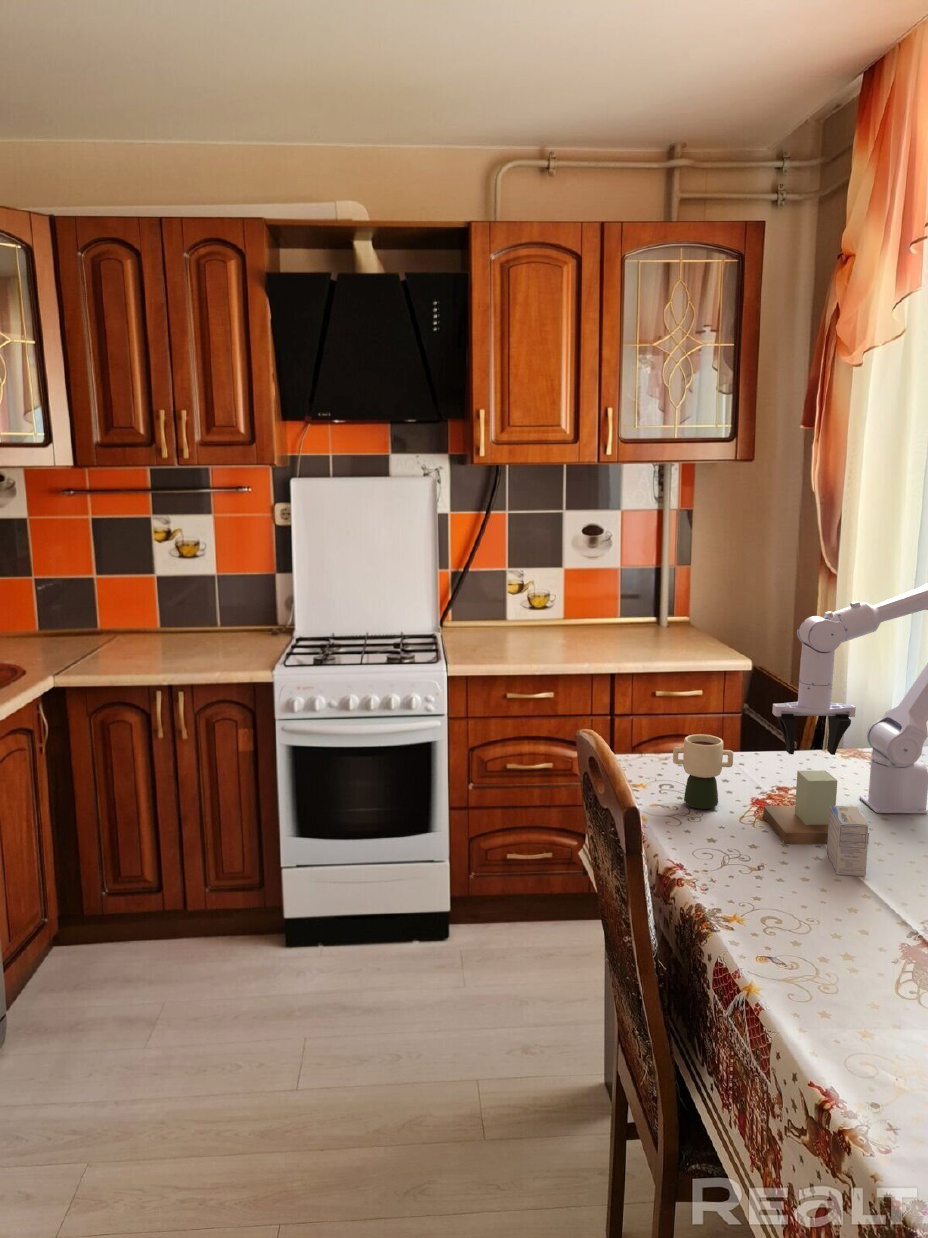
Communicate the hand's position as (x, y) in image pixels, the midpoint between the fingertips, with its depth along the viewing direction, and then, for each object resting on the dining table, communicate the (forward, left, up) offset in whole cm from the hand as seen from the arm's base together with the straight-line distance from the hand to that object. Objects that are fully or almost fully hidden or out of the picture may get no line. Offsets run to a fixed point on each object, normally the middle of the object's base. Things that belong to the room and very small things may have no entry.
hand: (810, 753), depth 165 cm
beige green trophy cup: (+20, 0, -11) cm, 23 cm away
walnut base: (+3, +11, -10) cm, 15 cm away
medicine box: (+3, +25, -11) cm, 27 cm away
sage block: (+3, +11, -8) cm, 14 cm away
